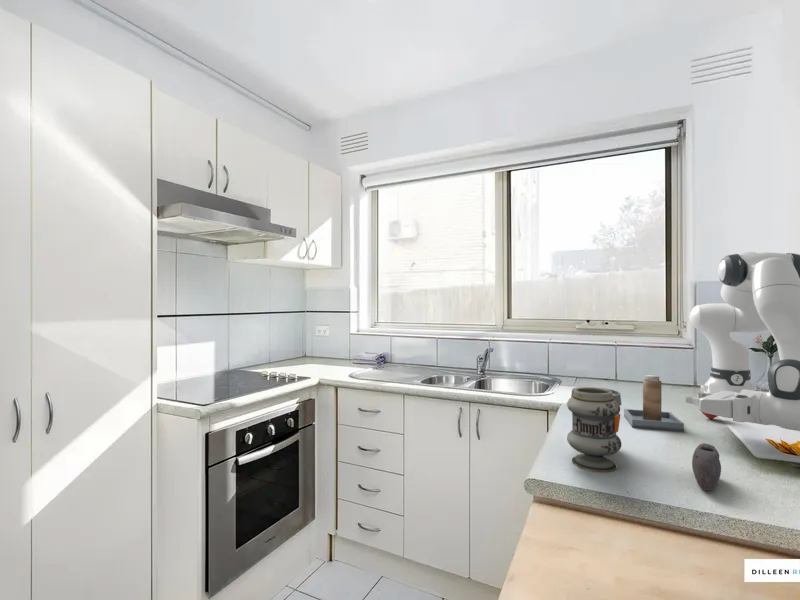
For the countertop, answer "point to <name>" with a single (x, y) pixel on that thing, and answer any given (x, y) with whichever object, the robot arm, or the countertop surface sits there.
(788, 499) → the countertop surface
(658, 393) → the pepper mill
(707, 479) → the perforated stone tool
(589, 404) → the apothecary jar
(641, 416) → the tray
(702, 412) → the onion
